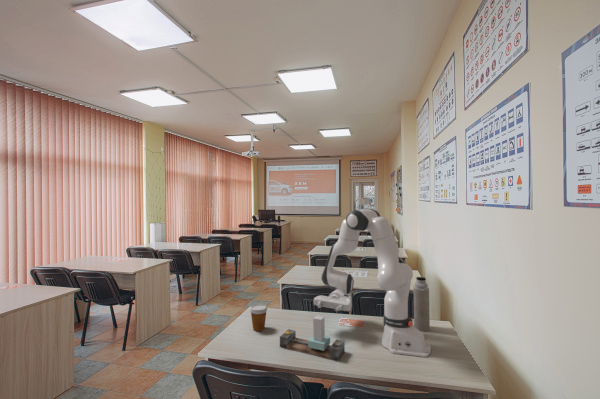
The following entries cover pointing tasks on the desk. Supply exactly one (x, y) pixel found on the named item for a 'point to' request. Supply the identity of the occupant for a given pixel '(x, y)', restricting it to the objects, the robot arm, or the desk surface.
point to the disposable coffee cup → (258, 317)
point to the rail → (301, 345)
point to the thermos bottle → (421, 305)
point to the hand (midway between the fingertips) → (327, 307)
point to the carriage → (319, 335)
